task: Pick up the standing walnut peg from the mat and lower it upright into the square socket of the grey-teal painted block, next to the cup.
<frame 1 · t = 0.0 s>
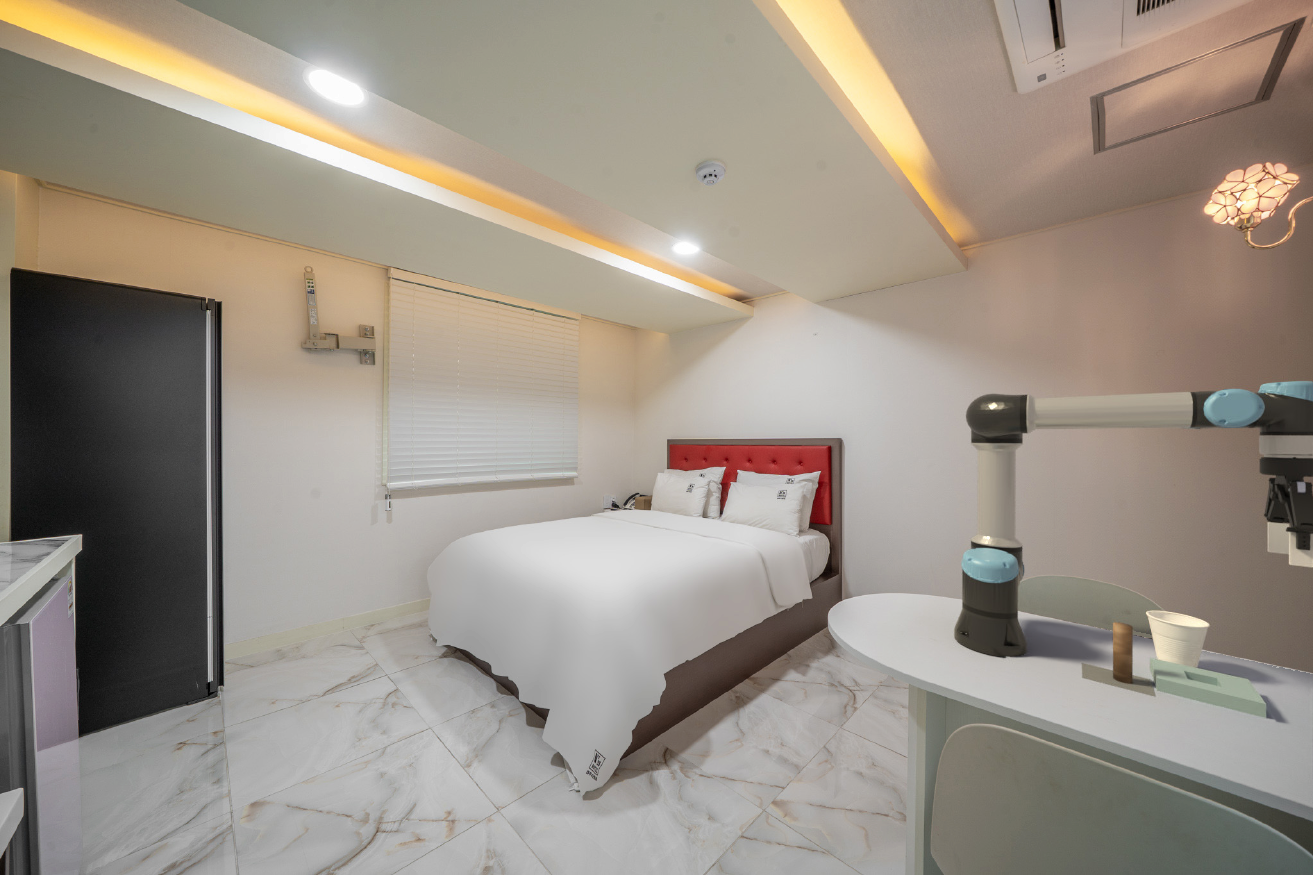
hand: (1288, 559, 96), 28 cm above the table, fingers open, 13 cm apart
mat: (1116, 680, 101), on the table
socket block: (1202, 692, 96), on the table
cup: (1176, 666, 108), on the table
peg: (1122, 680, 100), resting on mat
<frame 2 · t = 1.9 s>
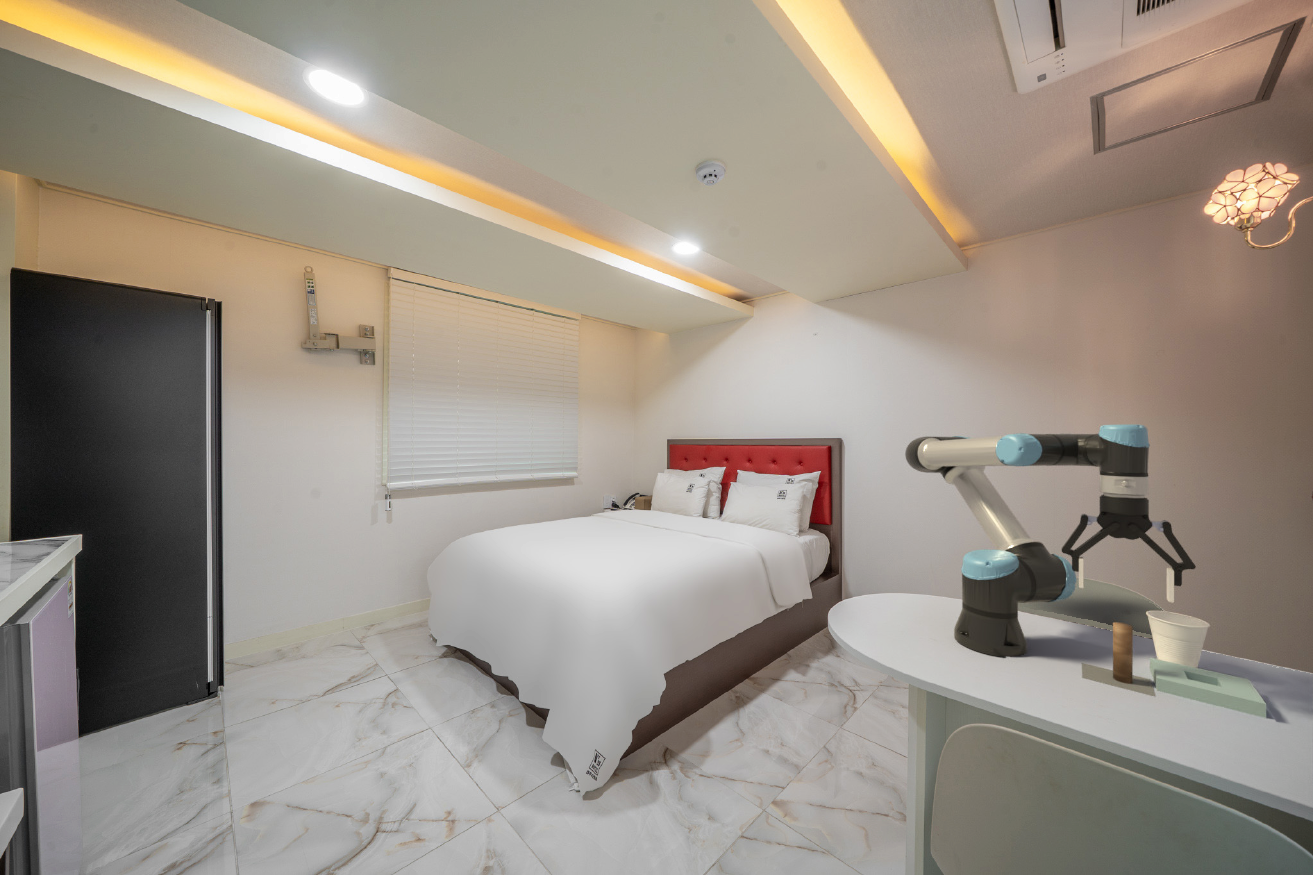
hand: (1123, 593, 100), 19 cm above the table, fingers open, 13 cm apart
nothing on the table moved.
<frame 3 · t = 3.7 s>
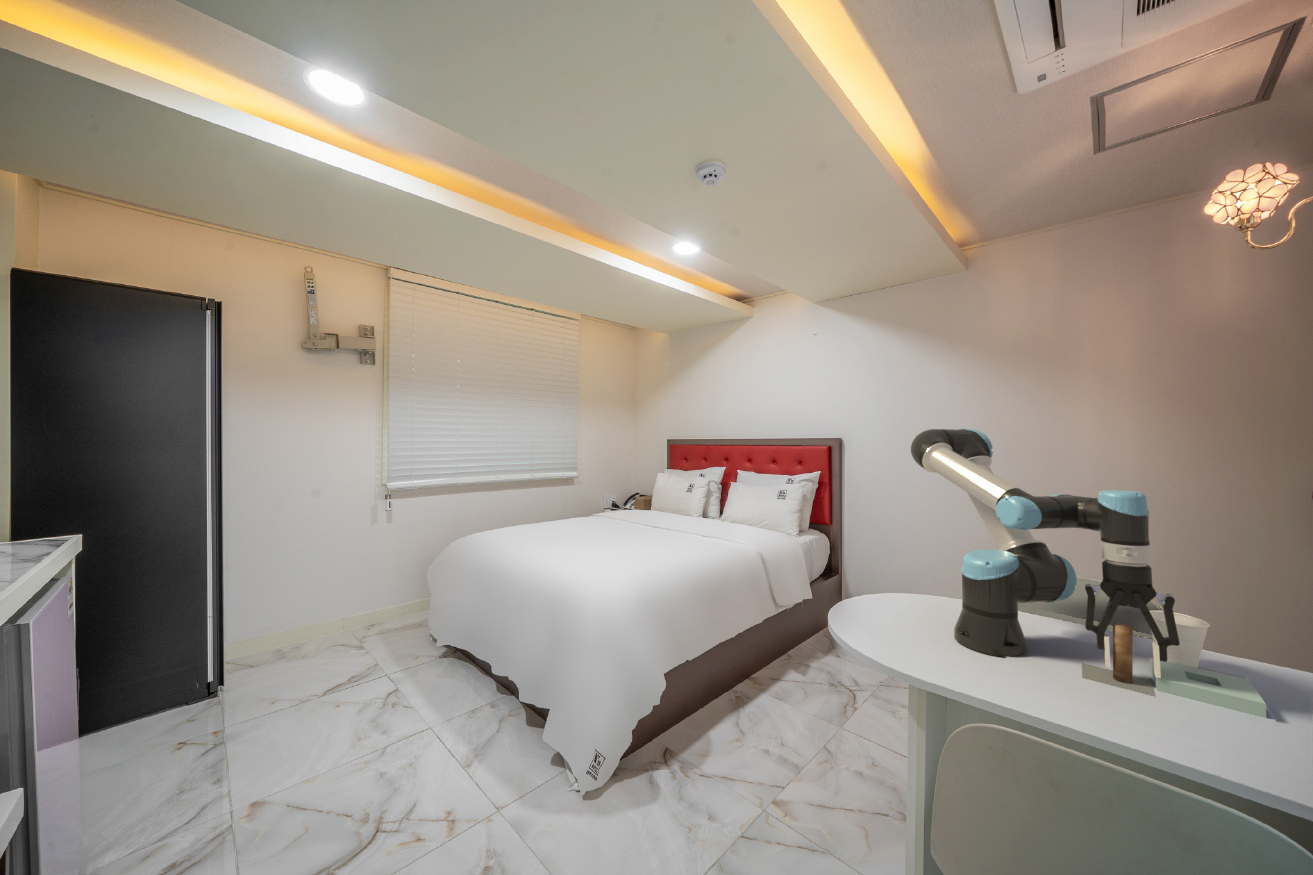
hand: (1131, 669, 99), 3 cm above the table, fingers open, 7 cm apart
nothing on the table moved.
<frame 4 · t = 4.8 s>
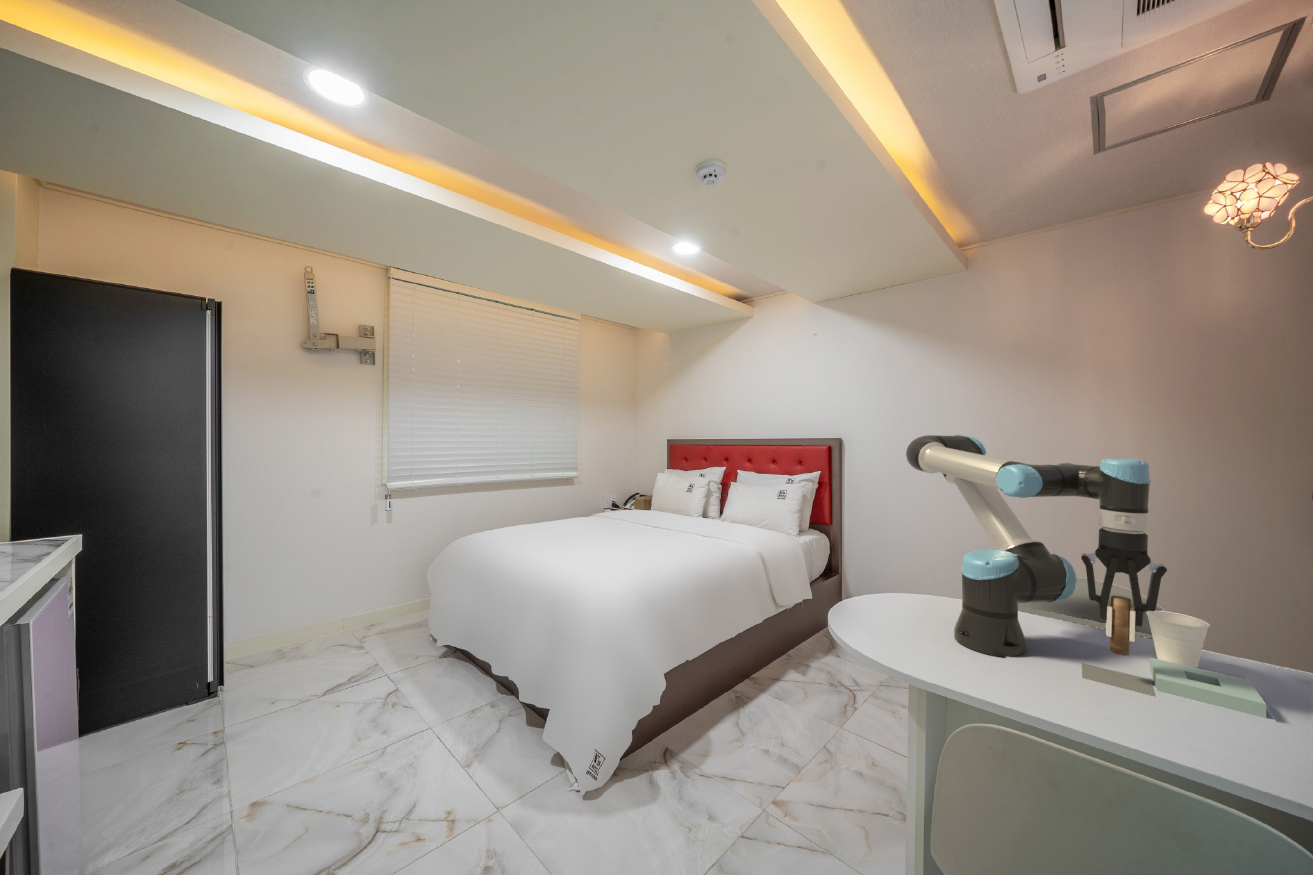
hand: (1119, 636, 101), 10 cm above the table, fingers closed on peg, 3 cm apart
peg: (1119, 652, 101), point 6 cm above the table, touching gripper
everything else where it was.
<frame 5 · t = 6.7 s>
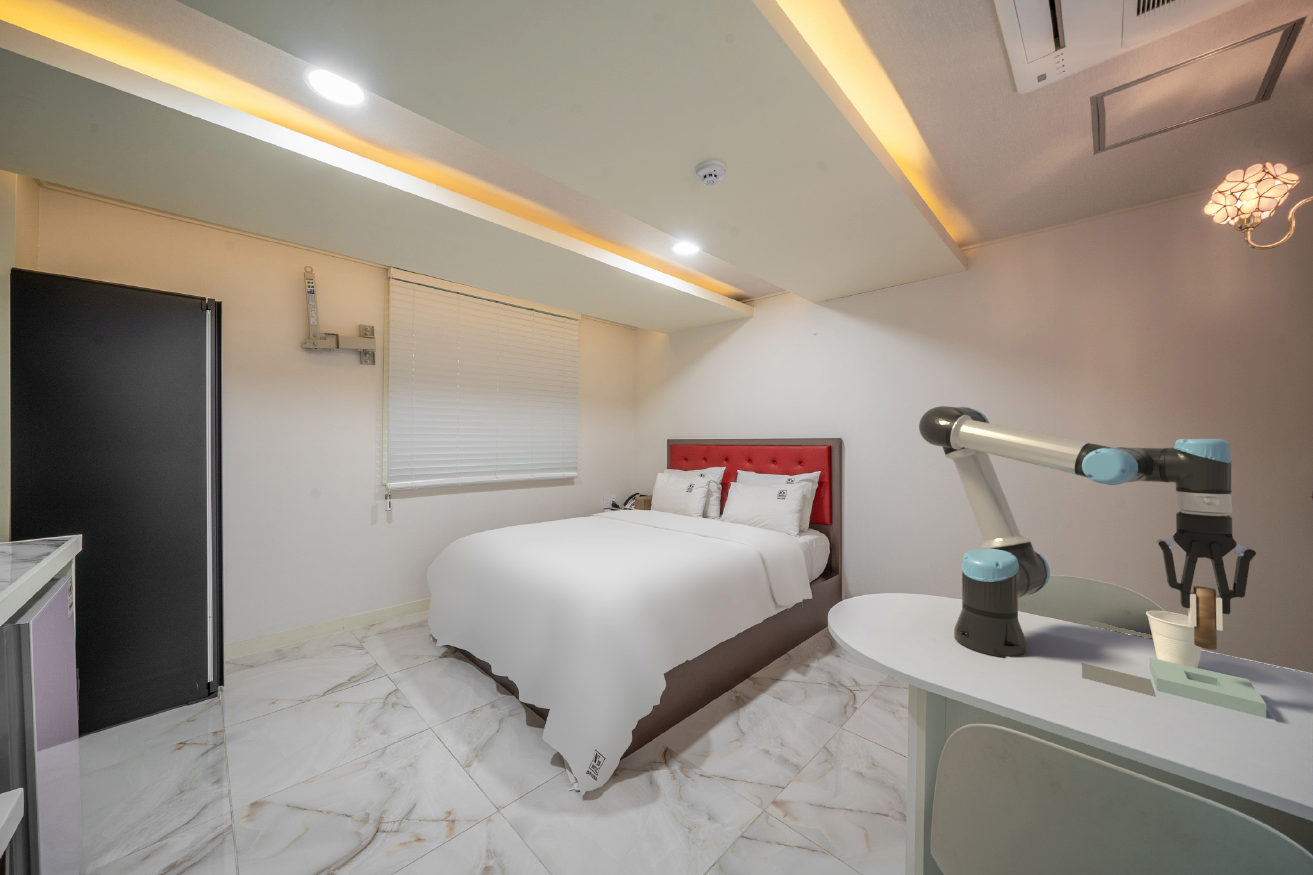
hand: (1205, 625, 96), 14 cm above the table, fingers closed on peg, 3 cm apart
peg: (1205, 646, 96), point 10 cm above the table, touching gripper
everything else where it was.
when the fingers open (4 cm above the table, at t = 9.1 s): peg stays where it is, resting in socket block.
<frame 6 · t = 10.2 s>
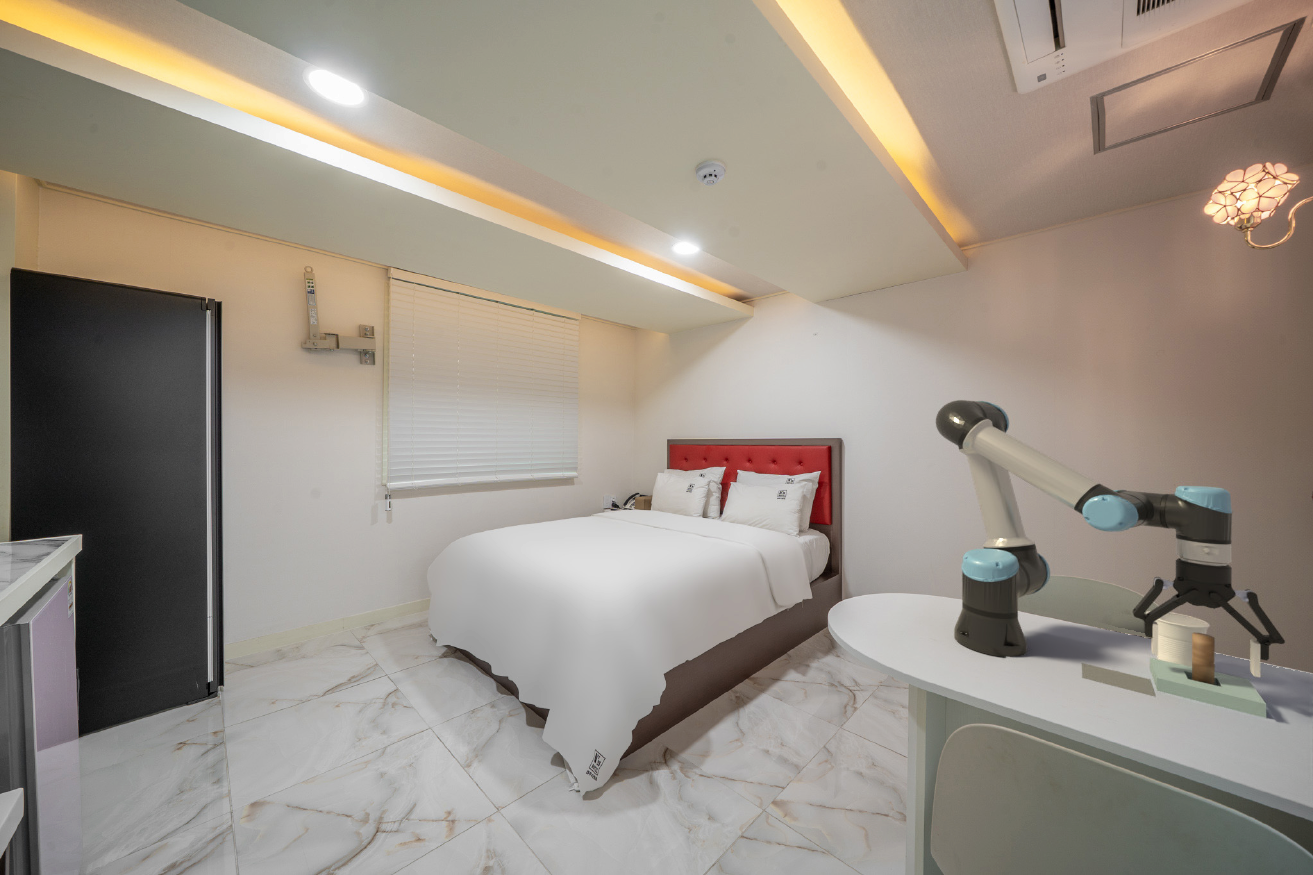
hand: (1202, 663, 96), 6 cm above the table, fingers open, 13 cm apart
peg: (1203, 693, 96), resting in socket block
everything else where it was.
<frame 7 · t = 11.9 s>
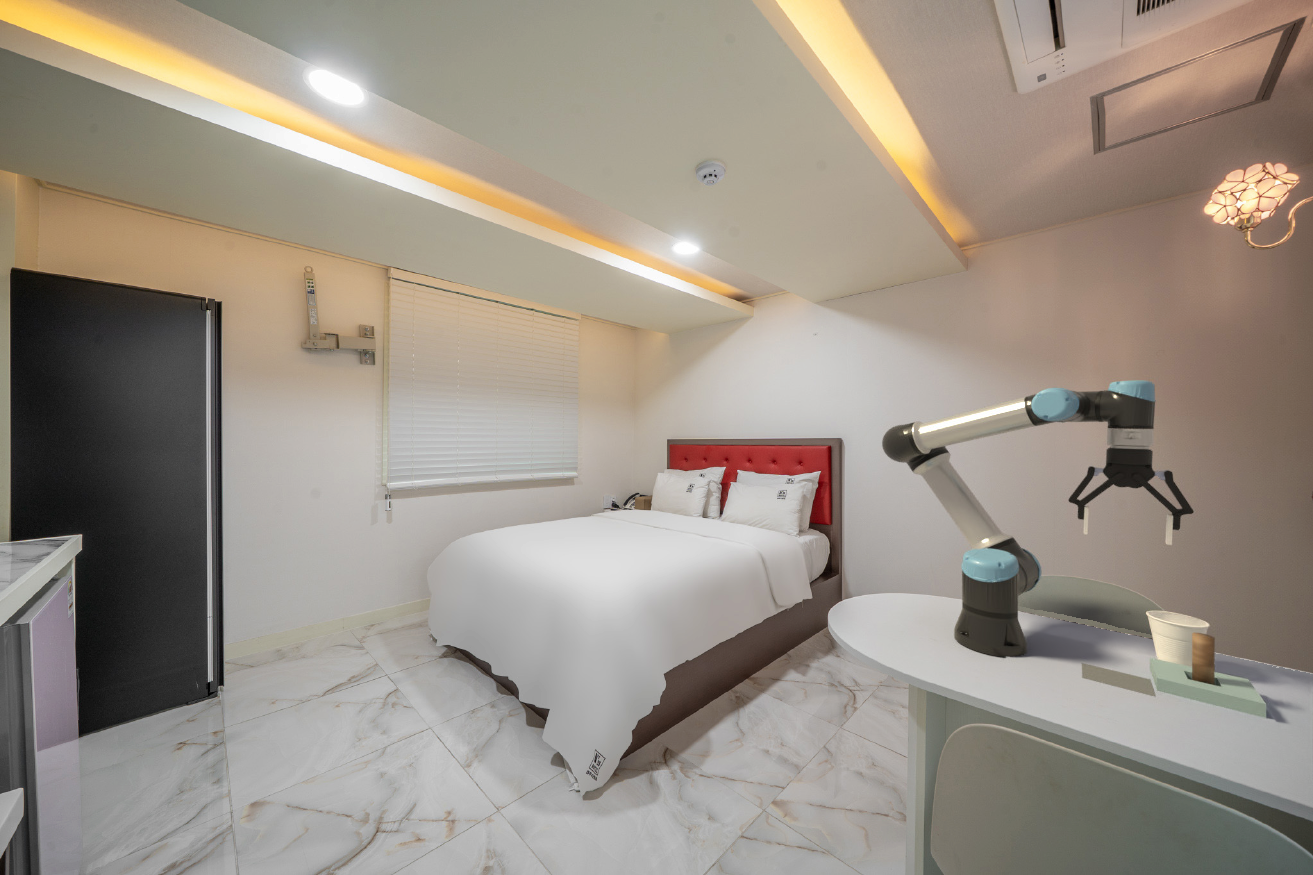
hand: (1125, 538, 108), 30 cm above the table, fingers open, 13 cm apart
nothing on the table moved.
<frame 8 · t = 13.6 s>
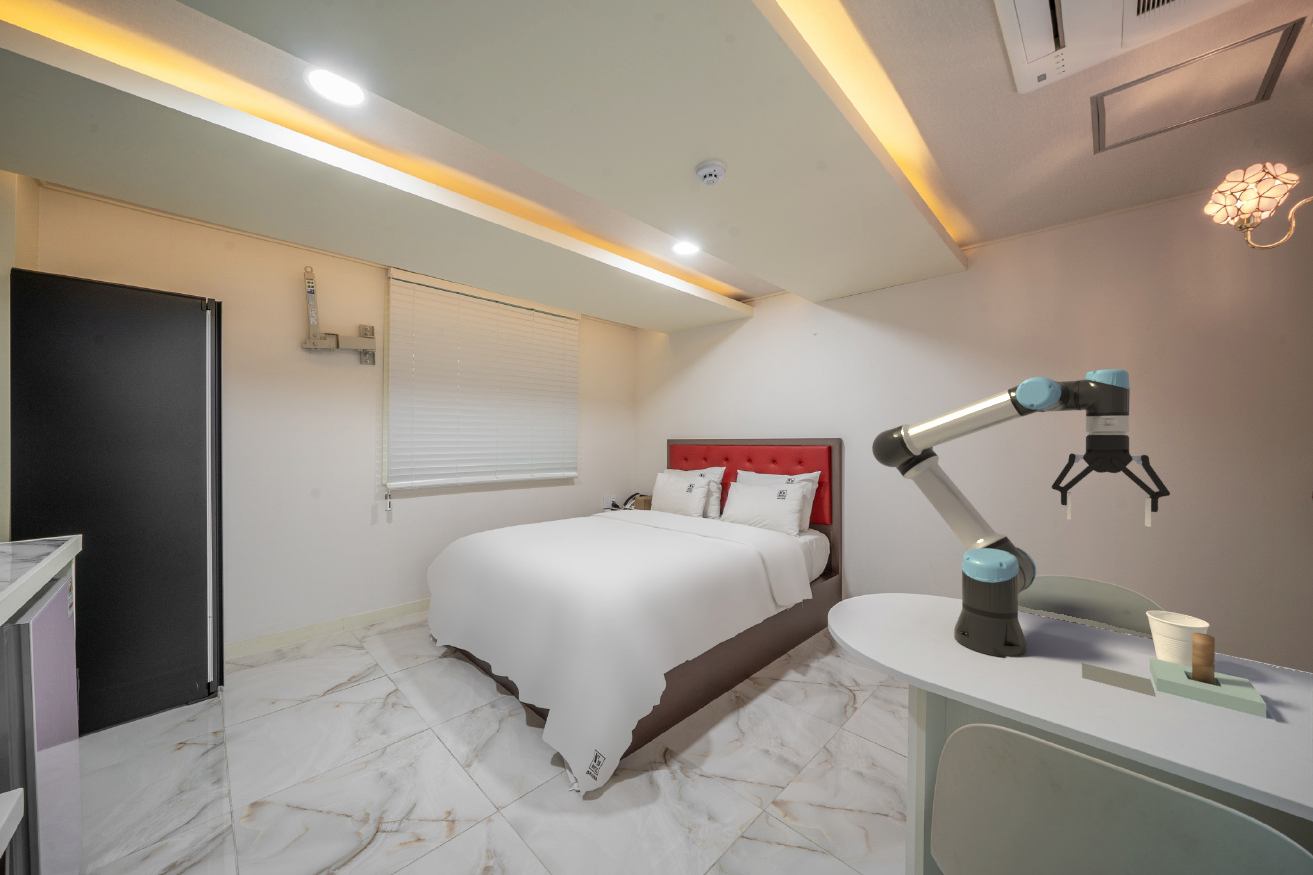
hand: (1106, 522, 111), 33 cm above the table, fingers open, 13 cm apart
nothing on the table moved.
at the end: peg 0.1 cm off-centre on the socket block, point 0.0 cm above the socket block's base; peg tilted 0°; the gripper is holding nothing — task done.
